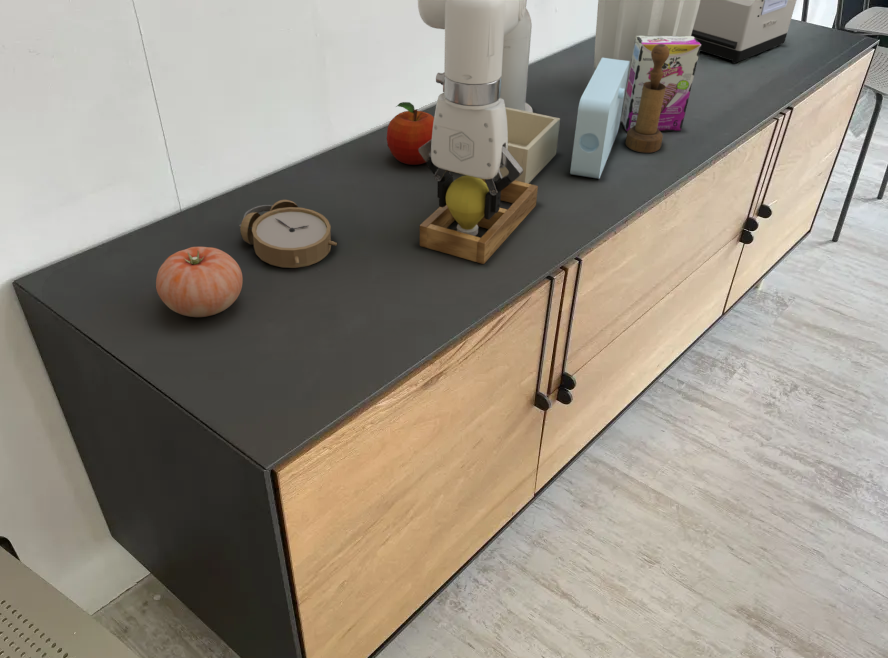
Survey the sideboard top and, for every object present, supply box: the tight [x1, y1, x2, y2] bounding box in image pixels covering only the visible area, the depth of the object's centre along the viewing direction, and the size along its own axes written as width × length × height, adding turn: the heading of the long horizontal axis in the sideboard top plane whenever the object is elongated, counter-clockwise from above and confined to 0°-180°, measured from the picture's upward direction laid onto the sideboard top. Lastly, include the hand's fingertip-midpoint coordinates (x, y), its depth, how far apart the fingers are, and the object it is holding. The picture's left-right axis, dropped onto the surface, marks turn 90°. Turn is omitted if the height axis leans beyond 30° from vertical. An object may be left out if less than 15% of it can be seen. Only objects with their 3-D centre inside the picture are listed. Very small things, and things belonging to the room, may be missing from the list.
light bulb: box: [446, 175, 489, 237], centre depth 115 cm, size 7×7×10 cm
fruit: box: [386, 101, 434, 166], centre depth 135 cm, size 10×10×10 cm
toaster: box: [691, 0, 797, 64], centre depth 185 cm, size 23×25×17 cm
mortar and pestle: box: [625, 44, 669, 154], centre depth 139 cm, size 7×6×18 cm
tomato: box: [155, 246, 244, 318], centre depth 101 cm, size 11×11×8 cm
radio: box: [569, 58, 630, 180], centre depth 138 cm, size 23×6×13 cm, turn 162°
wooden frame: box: [419, 179, 539, 265], centre depth 120 cm, size 11×20×4 cm, turn 153°
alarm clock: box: [238, 199, 338, 269], centre depth 115 cm, size 11×5×15 cm
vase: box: [593, 0, 700, 104], centre depth 154 cm, size 20×20×27 cm
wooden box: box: [499, 107, 561, 184], centre depth 136 cm, size 15×15×7 cm
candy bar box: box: [620, 36, 701, 132], centre depth 146 cm, size 11×5×16 cm, turn 94°
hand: (468, 208), depth 115 cm, fingers closed on light bulb, 6 cm apart
